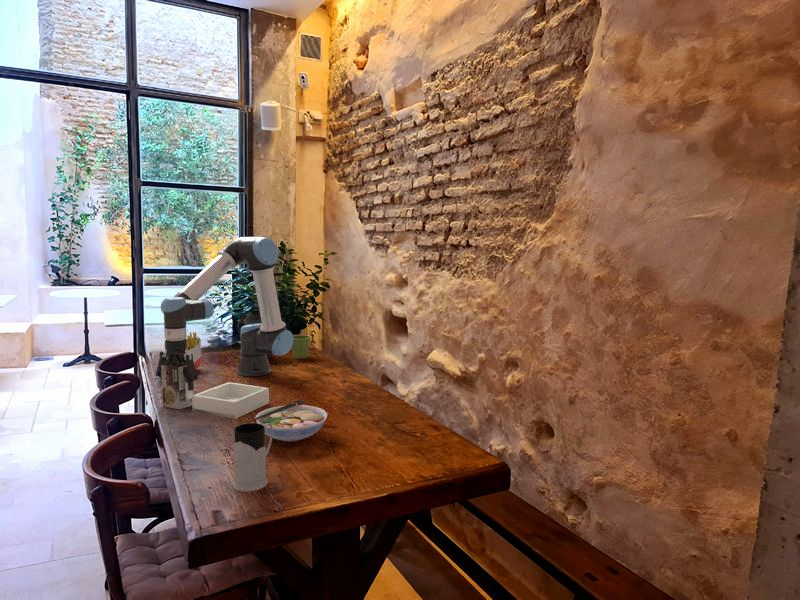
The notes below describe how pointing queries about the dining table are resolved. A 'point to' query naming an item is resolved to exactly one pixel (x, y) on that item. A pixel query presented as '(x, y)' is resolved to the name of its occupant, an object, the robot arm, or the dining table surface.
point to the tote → (230, 400)
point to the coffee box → (174, 386)
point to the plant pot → (300, 346)
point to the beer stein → (250, 319)
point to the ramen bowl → (292, 421)
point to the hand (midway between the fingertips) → (177, 396)
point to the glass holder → (250, 456)
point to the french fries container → (194, 349)
